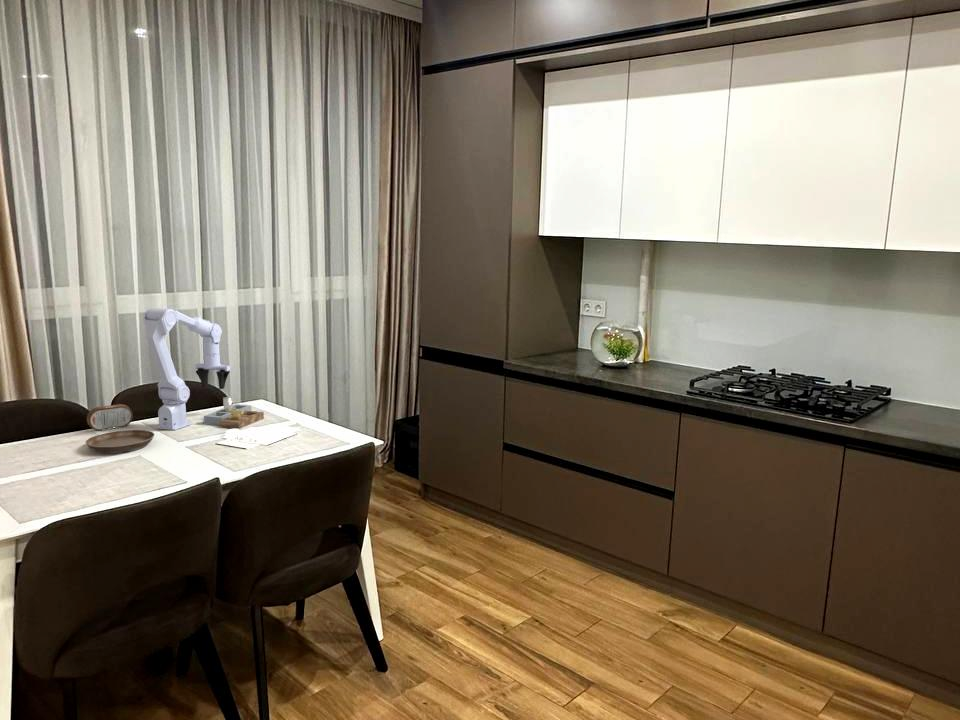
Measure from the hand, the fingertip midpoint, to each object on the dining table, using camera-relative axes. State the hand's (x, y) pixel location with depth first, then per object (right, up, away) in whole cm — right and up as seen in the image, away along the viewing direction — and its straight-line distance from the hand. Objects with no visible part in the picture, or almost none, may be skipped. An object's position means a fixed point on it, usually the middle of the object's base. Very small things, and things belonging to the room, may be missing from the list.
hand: (213, 388), depth 285 cm
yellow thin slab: (+14, -13, -15) cm, 24 cm away
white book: (+27, -17, -29) cm, 43 cm away
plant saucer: (-15, -18, -42) cm, 48 cm away
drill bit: (+7, -11, -4) cm, 14 cm away
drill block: (+15, -13, -11) cm, 22 cm away
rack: (+7, -11, -4) cm, 14 cm away
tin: (-30, -14, -20) cm, 39 cm away
